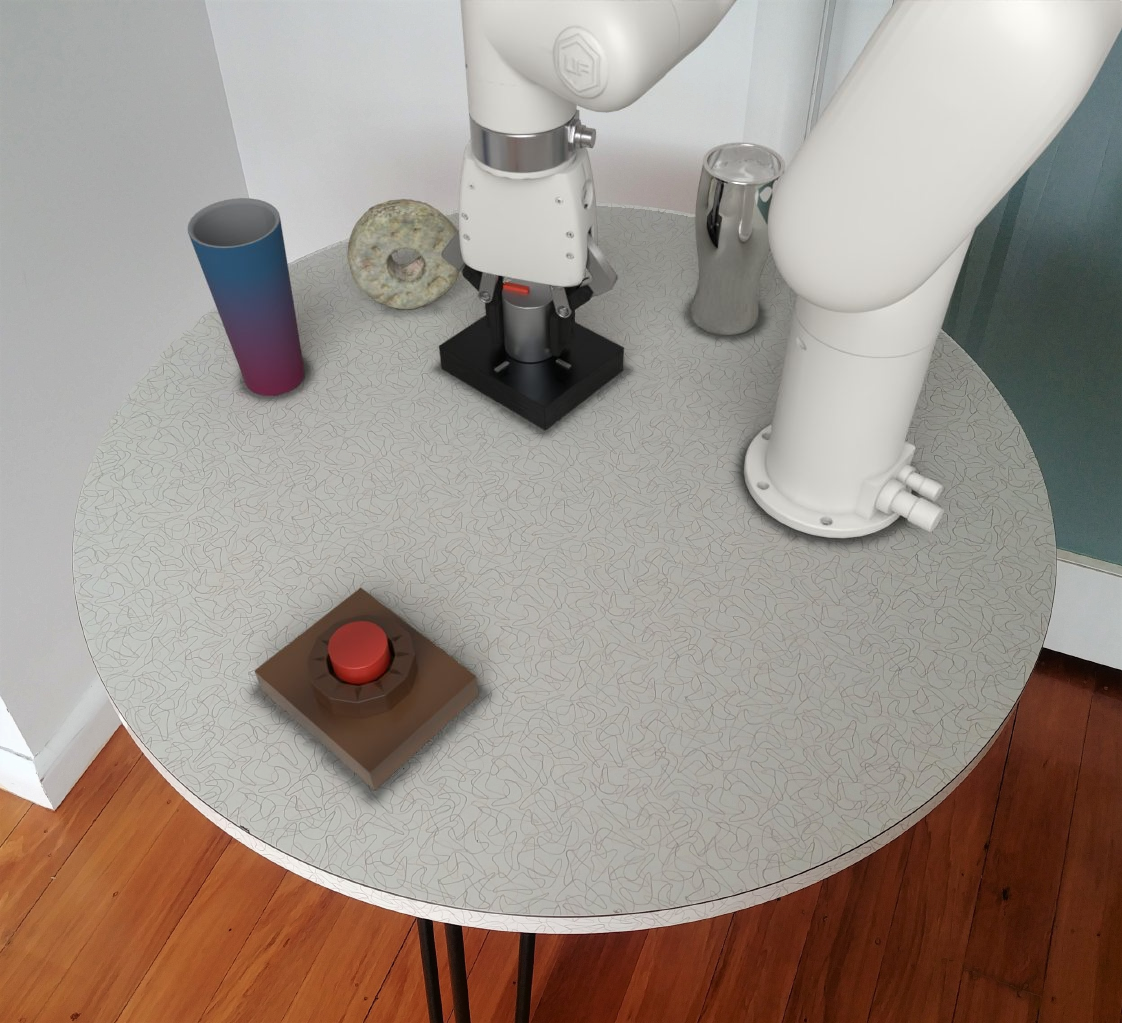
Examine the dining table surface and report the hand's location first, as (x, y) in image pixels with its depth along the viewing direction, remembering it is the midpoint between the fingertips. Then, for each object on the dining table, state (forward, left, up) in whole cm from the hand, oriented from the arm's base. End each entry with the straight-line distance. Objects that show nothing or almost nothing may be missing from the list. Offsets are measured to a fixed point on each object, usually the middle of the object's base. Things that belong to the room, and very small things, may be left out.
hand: (531, 338), depth 88 cm
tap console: (0, 0, -3) cm, 3 cm away
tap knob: (0, 0, -1) cm, 1 cm away
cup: (+16, +15, -4) cm, 22 cm away
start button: (-14, +31, 0) cm, 34 cm away
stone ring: (+15, 0, -4) cm, 15 cm away
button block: (-14, +31, -3) cm, 34 cm away
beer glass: (-8, -17, -4) cm, 19 cm away
